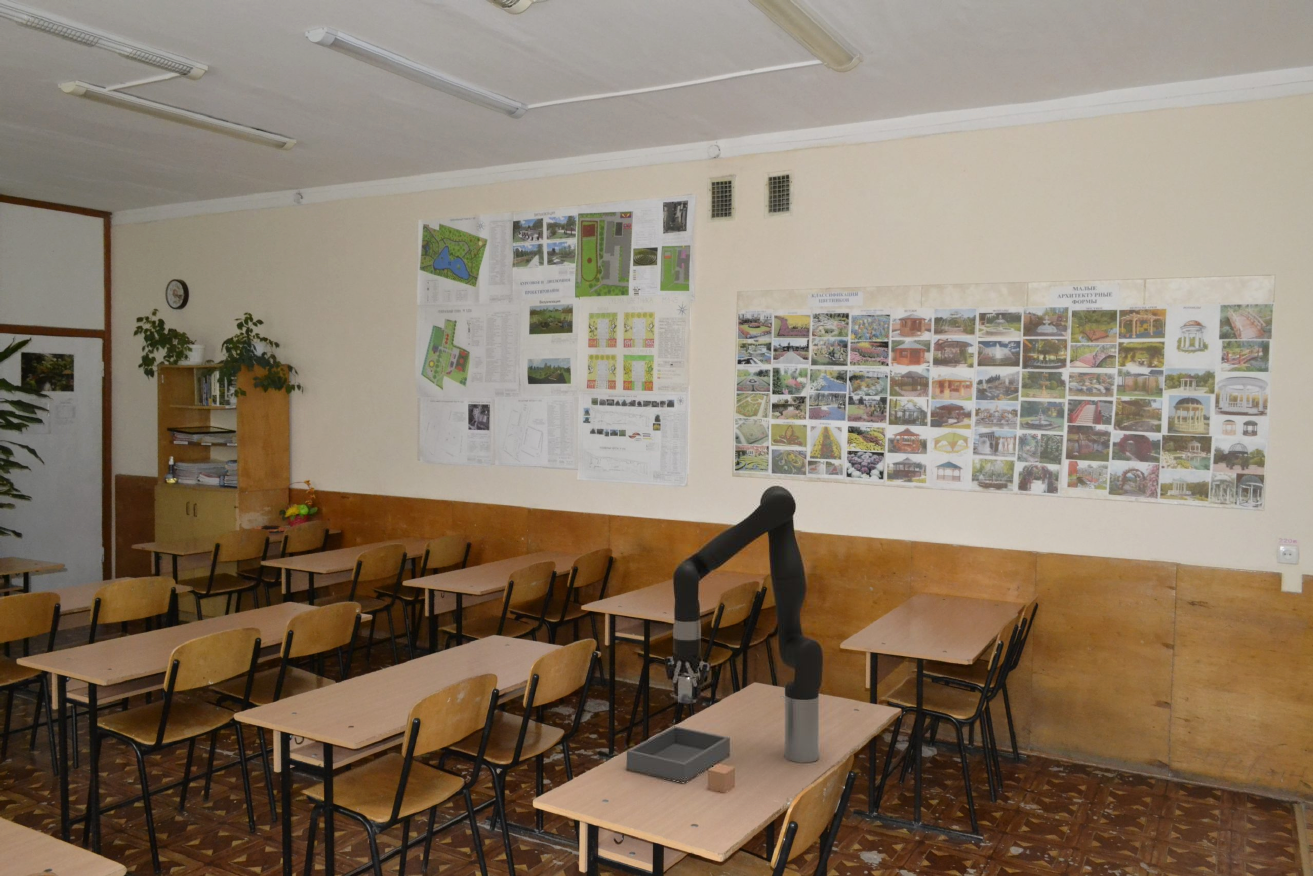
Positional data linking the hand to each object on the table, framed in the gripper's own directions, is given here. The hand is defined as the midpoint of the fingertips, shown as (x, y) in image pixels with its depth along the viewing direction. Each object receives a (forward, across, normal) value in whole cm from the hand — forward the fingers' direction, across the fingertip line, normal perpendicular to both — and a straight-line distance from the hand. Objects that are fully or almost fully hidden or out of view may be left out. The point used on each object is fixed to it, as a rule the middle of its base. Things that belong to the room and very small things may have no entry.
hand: (687, 697), depth 259 cm
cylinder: (+1, 0, 0) cm, 1 cm away
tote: (+17, 0, +4) cm, 17 cm away
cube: (+17, -18, +13) cm, 28 cm away
